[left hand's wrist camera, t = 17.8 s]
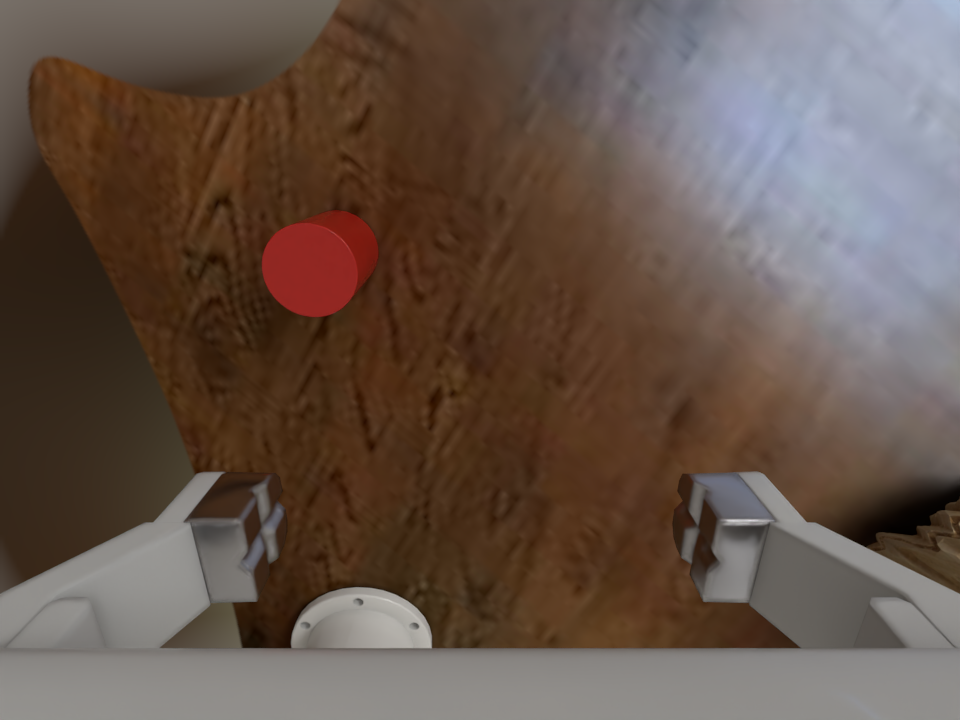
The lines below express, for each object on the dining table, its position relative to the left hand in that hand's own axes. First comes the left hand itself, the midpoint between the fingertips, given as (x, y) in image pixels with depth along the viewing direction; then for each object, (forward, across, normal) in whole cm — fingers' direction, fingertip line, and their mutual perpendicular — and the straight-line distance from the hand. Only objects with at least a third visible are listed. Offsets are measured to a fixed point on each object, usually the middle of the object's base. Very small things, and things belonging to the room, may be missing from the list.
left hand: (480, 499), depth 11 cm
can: (+27, -10, 0) cm, 28 cm away
